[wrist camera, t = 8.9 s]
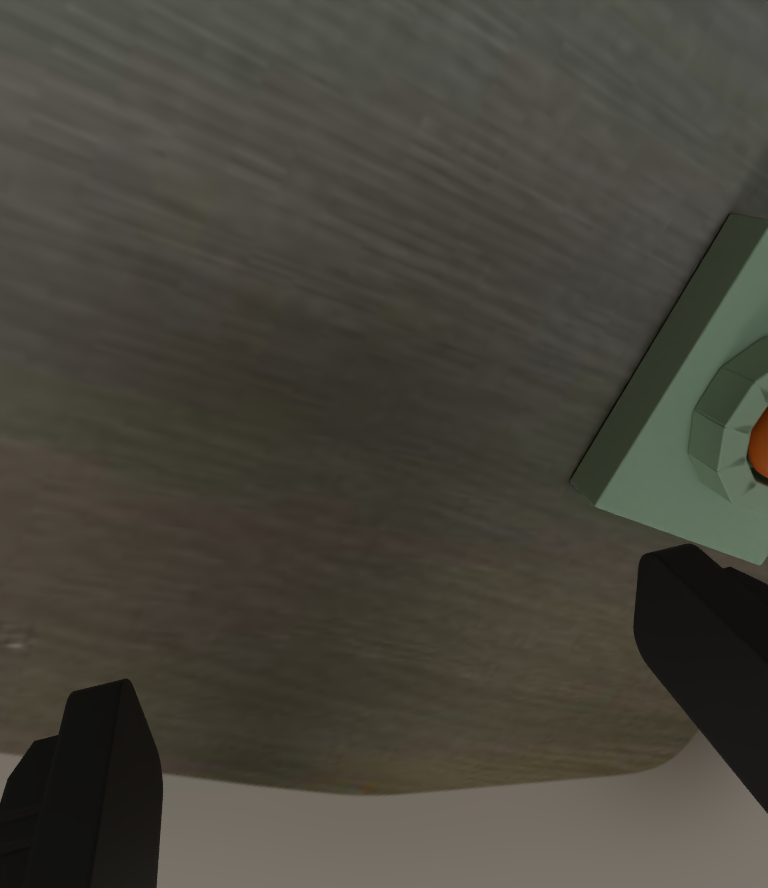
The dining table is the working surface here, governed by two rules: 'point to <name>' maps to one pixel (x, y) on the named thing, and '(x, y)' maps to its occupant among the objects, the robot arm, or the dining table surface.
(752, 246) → the block
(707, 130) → the dining table surface
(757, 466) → the power button
